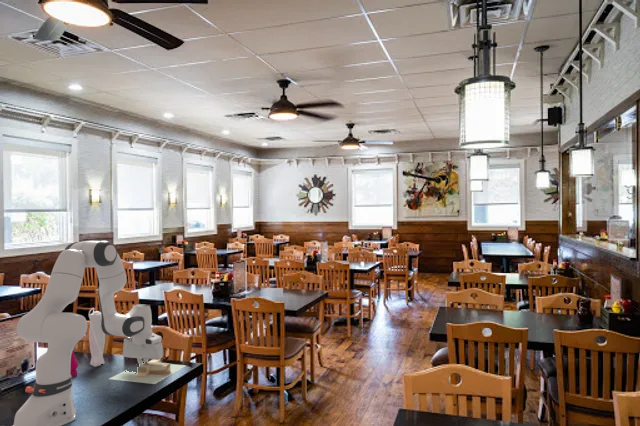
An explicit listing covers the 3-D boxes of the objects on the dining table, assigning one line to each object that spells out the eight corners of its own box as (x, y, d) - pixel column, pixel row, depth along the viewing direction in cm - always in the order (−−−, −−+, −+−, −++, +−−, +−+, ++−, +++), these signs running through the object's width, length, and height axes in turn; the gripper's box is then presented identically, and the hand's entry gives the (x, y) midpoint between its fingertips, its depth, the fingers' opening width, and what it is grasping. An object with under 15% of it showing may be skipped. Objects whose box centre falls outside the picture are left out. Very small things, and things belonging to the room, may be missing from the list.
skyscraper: (86, 364, 224) (85, 308, 224) (101, 360, 230) (100, 306, 230) (92, 367, 219) (91, 310, 219) (108, 363, 225) (107, 308, 224)
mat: (155, 384, 196) (155, 384, 196) (108, 379, 203) (108, 378, 203) (186, 366, 219) (186, 365, 219) (143, 362, 226) (143, 361, 226)
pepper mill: (59, 379, 205) (58, 335, 204) (61, 374, 211) (60, 332, 211) (77, 376, 208) (76, 333, 207) (79, 371, 214) (78, 330, 214)
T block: (160, 378, 203) (159, 369, 203) (137, 376, 206) (137, 367, 206) (175, 369, 214) (175, 360, 214) (154, 367, 218) (153, 358, 218)
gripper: (119, 338, 212) (120, 367, 212) (156, 341, 206) (157, 371, 206) (128, 334, 218) (129, 363, 218) (164, 337, 212) (165, 366, 212)
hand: (143, 367), depth 212 cm, fingers closed
